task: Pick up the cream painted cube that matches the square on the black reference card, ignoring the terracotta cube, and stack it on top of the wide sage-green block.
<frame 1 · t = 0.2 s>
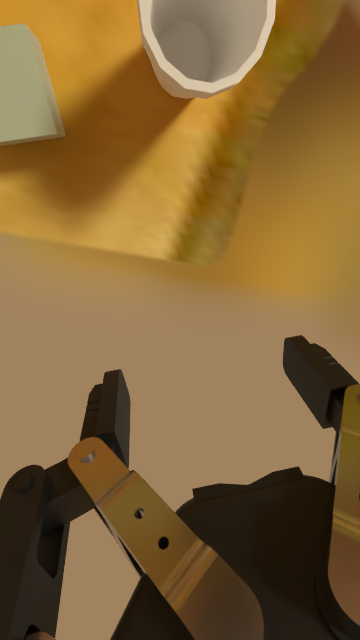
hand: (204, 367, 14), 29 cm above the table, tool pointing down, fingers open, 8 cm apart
green block: (16, 97, 30), on the table
foam cup: (182, 62, 30), on the table
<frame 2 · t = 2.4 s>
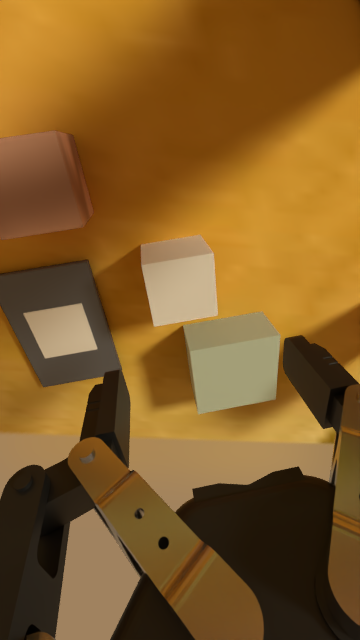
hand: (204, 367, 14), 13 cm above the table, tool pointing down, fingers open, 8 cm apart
green block: (223, 348, 30), on the table
cream cube: (174, 267, 25), on the table
reference card: (64, 328, 26), on the table
terracotta cube: (49, 181, 20), on the table
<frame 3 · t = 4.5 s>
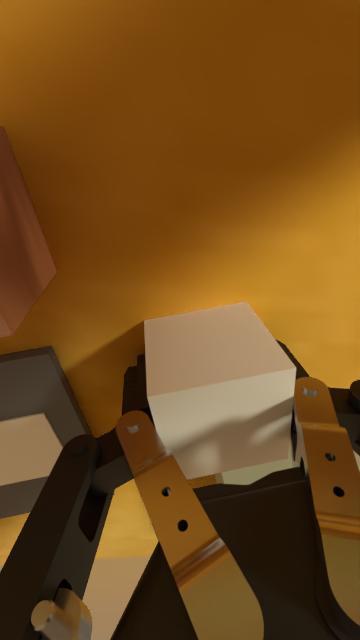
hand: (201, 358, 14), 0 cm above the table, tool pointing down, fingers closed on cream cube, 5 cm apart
green block: (267, 450, 20), on the table
cream cube: (200, 352, 15), on the table, touching gripper
reference card: (19, 442, 16), on the table
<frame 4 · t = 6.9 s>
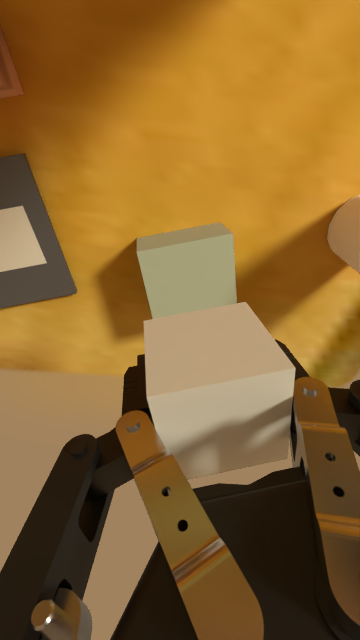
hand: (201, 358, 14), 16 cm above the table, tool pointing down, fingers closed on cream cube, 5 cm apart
green block: (184, 268, 29), on the table
cream cube: (200, 352, 15), point 15 cm above the table, touching gripper
reference card: (9, 239, 25), on the table
foam cup: (356, 226, 29), on the table
when the fingers open (6 cm above the table, at t = 9.6 s): cream cube drops 2 cm, resting on green block.
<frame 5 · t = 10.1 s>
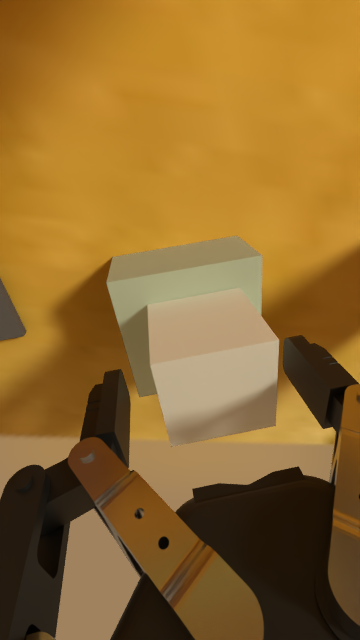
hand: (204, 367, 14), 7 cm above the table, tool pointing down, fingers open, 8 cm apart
green block: (183, 300, 20), on the table, touching cream cube
cream cube: (199, 334, 16), point 4 cm above the table, touching green block
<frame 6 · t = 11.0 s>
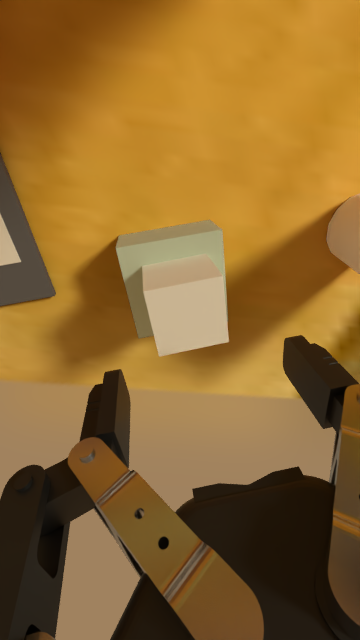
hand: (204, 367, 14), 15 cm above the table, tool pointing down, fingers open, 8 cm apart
green block: (171, 270, 27), on the table, touching cream cube
cream cube: (179, 289, 23), point 4 cm above the table, touching green block
foam cup: (357, 227, 27), on the table
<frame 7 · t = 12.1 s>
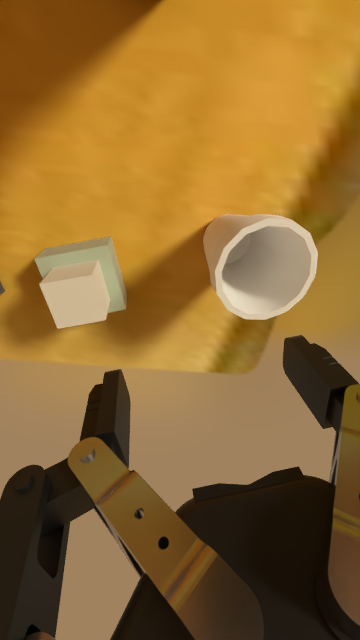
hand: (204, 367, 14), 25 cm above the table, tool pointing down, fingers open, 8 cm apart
green block: (88, 272, 37), on the table
cream cube: (82, 284, 32), point 4 cm above the table
foam cup: (226, 239, 37), on the table
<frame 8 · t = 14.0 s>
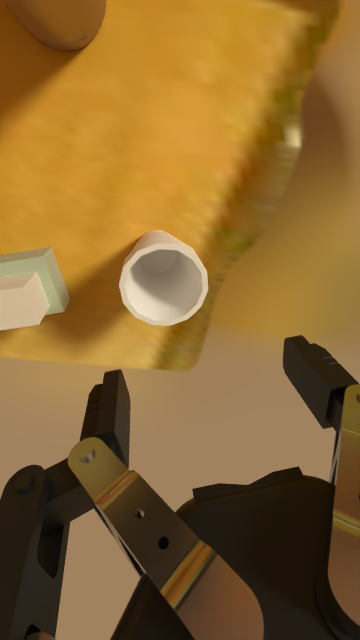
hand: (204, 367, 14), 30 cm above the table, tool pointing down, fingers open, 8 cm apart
green block: (33, 278, 41), on the table, touching cream cube
cream cube: (24, 291, 37), point 4 cm above the table, touching green block
foam cup: (157, 251, 41), on the table
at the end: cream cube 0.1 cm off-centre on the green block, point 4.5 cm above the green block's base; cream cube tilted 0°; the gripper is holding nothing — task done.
